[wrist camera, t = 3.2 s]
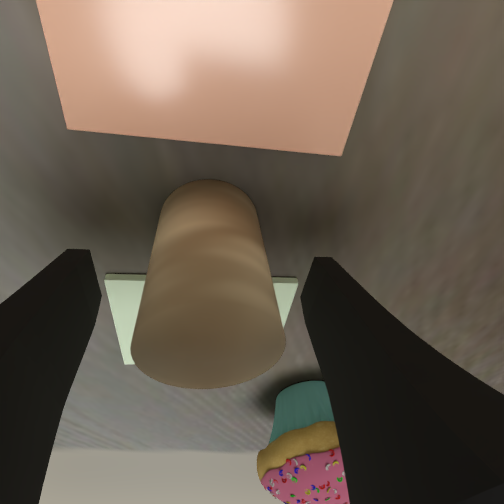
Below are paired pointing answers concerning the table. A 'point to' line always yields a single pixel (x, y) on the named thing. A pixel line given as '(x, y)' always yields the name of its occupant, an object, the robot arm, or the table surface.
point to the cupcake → (304, 449)
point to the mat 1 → (215, 68)
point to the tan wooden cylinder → (207, 293)
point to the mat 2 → (129, 297)
